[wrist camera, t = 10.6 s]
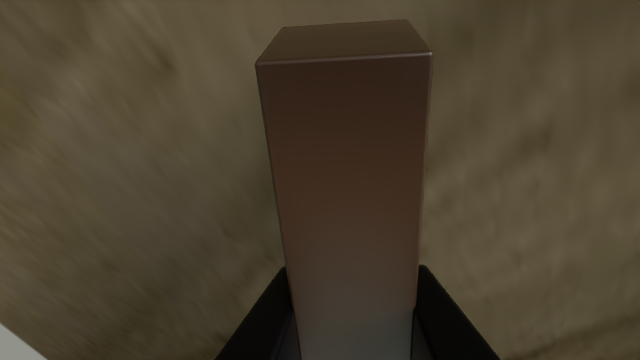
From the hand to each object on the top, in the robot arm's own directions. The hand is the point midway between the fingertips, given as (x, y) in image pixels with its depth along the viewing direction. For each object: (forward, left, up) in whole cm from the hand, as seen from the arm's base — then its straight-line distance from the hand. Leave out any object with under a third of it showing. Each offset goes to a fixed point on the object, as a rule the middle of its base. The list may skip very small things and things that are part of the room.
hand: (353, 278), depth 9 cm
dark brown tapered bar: (0, +3, -1) cm, 3 cm away
